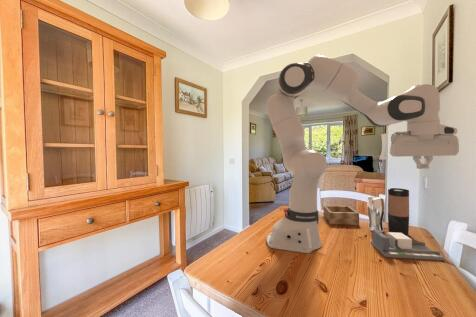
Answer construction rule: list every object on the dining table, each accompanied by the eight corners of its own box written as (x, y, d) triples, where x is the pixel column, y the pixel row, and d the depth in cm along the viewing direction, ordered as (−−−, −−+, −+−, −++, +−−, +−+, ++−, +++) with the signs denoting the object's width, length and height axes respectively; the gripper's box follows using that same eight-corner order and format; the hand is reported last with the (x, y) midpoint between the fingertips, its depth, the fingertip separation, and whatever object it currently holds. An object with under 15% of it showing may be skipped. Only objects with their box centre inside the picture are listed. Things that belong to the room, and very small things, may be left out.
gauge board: (385, 257, 72) (385, 250, 72) (370, 243, 83) (370, 237, 83) (443, 260, 69) (443, 254, 69) (420, 245, 80) (420, 240, 80)
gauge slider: (399, 253, 72) (399, 241, 71) (386, 243, 80) (386, 232, 80) (416, 254, 71) (416, 242, 71) (401, 243, 79) (401, 232, 79)
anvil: (383, 251, 74) (383, 238, 74) (372, 241, 82) (372, 229, 81) (389, 251, 73) (389, 238, 73) (377, 242, 81) (377, 229, 81)
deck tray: (330, 223, 106) (330, 212, 106) (323, 215, 120) (323, 205, 120) (359, 224, 104) (359, 213, 103) (348, 216, 117) (348, 205, 117)
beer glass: (385, 233, 92) (385, 201, 92) (367, 230, 96) (367, 199, 95) (384, 228, 98) (384, 197, 98) (366, 226, 102) (366, 196, 101)
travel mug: (413, 236, 88) (413, 191, 88) (393, 235, 90) (393, 191, 89) (402, 230, 96) (402, 188, 95) (384, 229, 97) (384, 188, 97)
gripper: (396, 131, 72) (396, 169, 73) (463, 128, 69) (462, 169, 69) (386, 132, 79) (386, 168, 79) (447, 130, 75) (447, 167, 76)
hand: (422, 168), depth 74 cm, fingers closed
